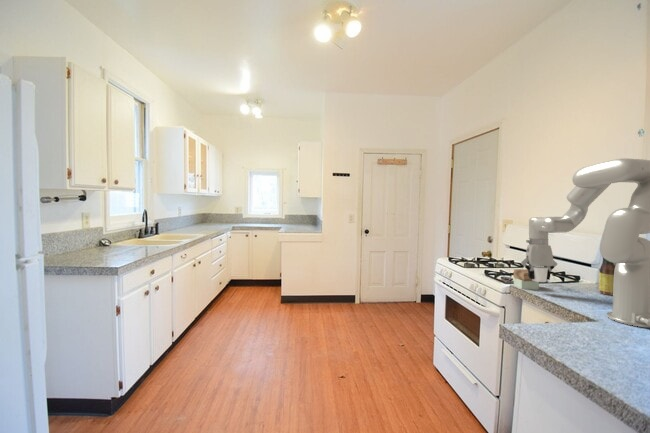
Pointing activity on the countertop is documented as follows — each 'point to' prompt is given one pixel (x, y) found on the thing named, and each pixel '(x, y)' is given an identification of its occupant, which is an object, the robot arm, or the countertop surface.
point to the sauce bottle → (606, 277)
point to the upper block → (521, 274)
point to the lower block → (526, 284)
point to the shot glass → (540, 274)
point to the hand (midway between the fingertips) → (539, 278)
